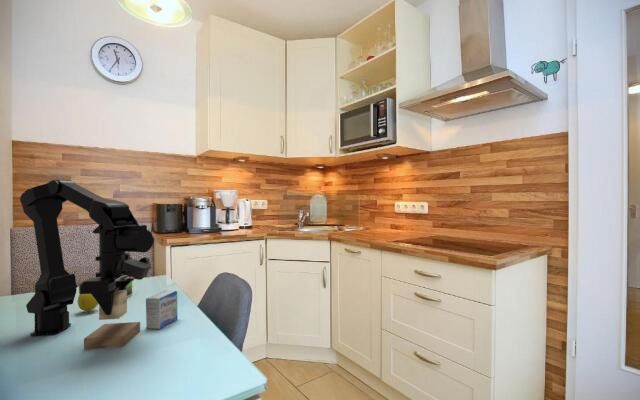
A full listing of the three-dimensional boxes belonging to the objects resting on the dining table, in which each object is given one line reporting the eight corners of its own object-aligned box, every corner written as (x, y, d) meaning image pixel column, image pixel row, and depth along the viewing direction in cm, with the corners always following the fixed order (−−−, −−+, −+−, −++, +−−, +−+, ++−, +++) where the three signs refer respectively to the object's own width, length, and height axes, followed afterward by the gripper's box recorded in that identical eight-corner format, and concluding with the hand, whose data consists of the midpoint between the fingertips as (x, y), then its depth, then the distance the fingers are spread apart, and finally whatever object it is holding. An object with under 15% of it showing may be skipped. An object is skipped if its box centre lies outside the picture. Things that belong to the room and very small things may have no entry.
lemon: (78, 316, 96) (78, 291, 96) (77, 312, 101) (77, 287, 101) (100, 312, 100) (100, 287, 100) (98, 307, 104) (97, 284, 104)
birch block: (99, 319, 78) (99, 296, 78) (108, 313, 82) (108, 290, 82) (118, 318, 79) (118, 295, 79) (126, 312, 83) (126, 289, 83)
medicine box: (159, 329, 86) (159, 298, 86) (145, 328, 87) (145, 297, 87) (178, 319, 94) (177, 290, 94) (165, 318, 95) (164, 289, 95)
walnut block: (83, 350, 75) (83, 338, 75) (104, 334, 84) (104, 323, 84) (123, 348, 77) (123, 335, 77) (140, 332, 85) (140, 321, 85)
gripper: (130, 256, 72) (130, 323, 72) (159, 244, 91) (159, 298, 91) (77, 258, 71) (77, 326, 71) (117, 245, 89) (117, 300, 89)
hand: (113, 311), depth 80 cm, fingers closed on birch block, 4 cm apart
